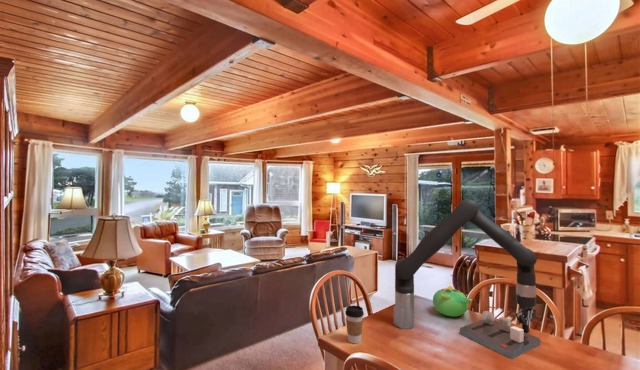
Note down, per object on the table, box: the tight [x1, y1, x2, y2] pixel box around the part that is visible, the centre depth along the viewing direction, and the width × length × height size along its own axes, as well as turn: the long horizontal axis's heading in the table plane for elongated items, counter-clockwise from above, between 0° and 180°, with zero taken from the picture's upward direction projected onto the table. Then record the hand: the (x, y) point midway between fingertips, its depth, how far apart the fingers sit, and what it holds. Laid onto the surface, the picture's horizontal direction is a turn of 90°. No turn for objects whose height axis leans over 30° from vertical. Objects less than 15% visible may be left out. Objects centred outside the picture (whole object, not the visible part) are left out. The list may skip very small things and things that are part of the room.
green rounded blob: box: [432, 285, 473, 317], centre depth 169 cm, size 18×17×15 cm
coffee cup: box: [344, 305, 365, 344], centre depth 142 cm, size 8×8×15 cm
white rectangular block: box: [510, 325, 524, 343], centre depth 136 cm, size 3×4×5 cm
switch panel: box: [459, 310, 541, 360], centre depth 143 cm, size 22×24×8 cm
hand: (525, 332), depth 140 cm, fingers closed
